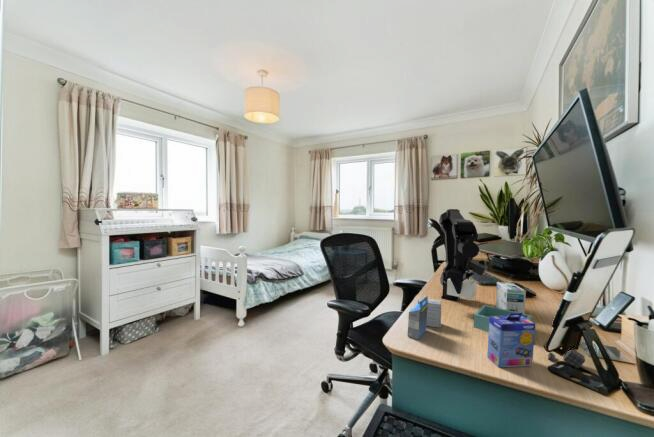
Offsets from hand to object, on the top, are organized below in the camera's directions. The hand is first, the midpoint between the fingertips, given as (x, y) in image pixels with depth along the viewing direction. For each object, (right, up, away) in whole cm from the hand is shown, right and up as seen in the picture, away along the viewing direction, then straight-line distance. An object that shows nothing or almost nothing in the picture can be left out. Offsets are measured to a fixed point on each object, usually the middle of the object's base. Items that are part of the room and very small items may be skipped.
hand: (461, 291), depth 109 cm
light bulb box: (+20, -9, +2) cm, 22 cm away
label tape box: (-23, -10, -17) cm, 30 cm away
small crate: (0, -1, 0) cm, 1 cm away
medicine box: (-17, -9, -10) cm, 21 cm away
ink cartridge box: (-3, -11, -33) cm, 35 cm away
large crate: (+8, -10, -13) cm, 18 cm away
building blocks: (+12, -11, -33) cm, 37 cm away
